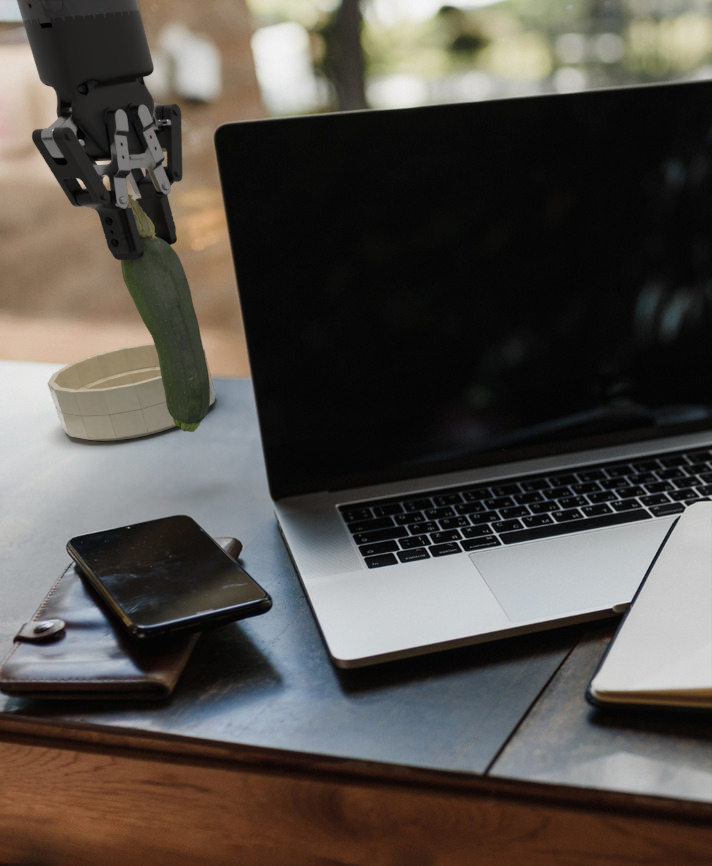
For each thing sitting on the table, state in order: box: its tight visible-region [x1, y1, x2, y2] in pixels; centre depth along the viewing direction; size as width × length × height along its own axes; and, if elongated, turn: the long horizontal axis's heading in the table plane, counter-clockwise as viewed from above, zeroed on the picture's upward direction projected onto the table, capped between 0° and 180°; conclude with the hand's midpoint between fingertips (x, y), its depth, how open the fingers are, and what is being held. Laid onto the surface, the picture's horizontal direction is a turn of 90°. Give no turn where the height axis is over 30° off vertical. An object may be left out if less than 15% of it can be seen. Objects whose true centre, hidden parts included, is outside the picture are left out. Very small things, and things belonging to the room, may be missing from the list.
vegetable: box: [120, 193, 210, 433], centre depth 84 cm, size 4×4×20 cm
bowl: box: [47, 342, 217, 442], centre depth 108 cm, size 14×14×6 cm
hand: (146, 250), depth 82 cm, fingers closed on vegetable, 3 cm apart
